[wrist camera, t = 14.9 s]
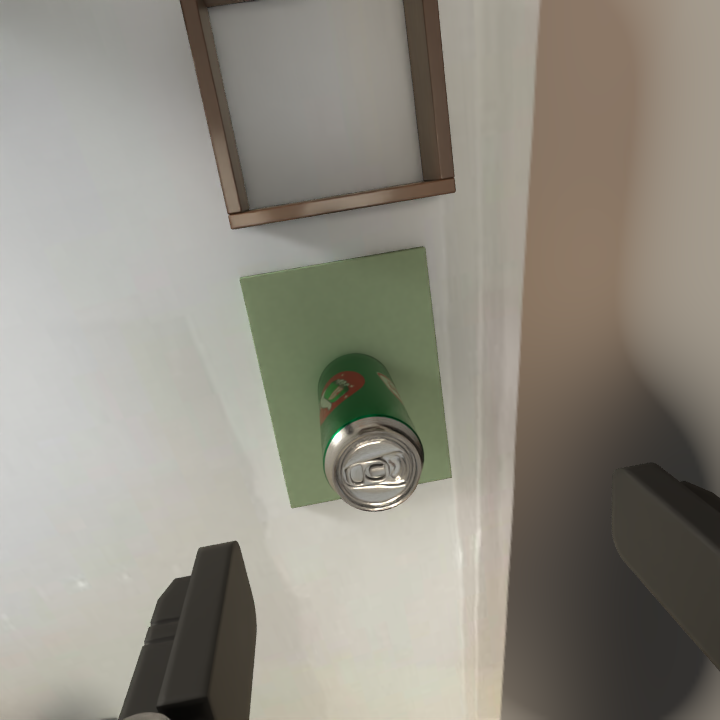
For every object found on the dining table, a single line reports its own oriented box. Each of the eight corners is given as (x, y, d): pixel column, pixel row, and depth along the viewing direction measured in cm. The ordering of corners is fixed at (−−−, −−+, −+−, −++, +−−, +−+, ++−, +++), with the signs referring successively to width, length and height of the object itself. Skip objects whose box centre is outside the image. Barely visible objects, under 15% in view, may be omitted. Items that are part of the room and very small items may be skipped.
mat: (291, 504, 40) (291, 508, 39) (240, 277, 35) (239, 278, 34) (450, 473, 41) (452, 477, 40) (423, 246, 35) (425, 247, 35)
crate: (240, 225, 34) (231, 229, 29) (189, -7, 30) (170, -41, 26) (437, 192, 34) (456, 192, 30) (412, -40, 30) (430, -77, 26)
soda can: (394, 413, 38) (434, 509, 27) (323, 425, 38) (332, 527, 26) (386, 344, 36) (424, 415, 25) (311, 357, 36) (315, 433, 25)
